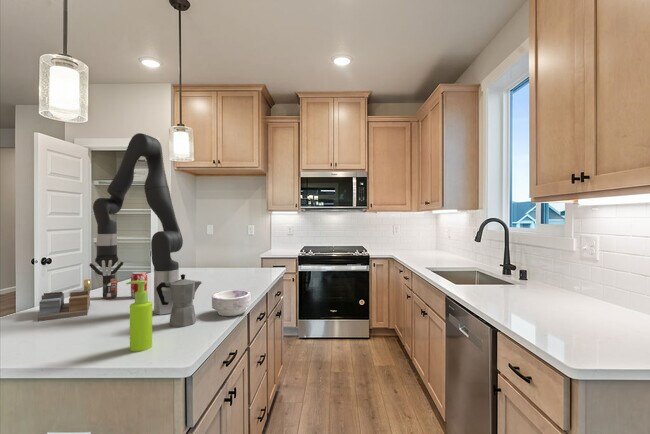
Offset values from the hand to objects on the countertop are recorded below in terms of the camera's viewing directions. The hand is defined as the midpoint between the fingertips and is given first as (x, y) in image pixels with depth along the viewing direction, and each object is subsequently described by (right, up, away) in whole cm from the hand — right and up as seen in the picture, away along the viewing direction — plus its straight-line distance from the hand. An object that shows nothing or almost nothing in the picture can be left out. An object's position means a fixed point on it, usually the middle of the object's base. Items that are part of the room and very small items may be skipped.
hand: (106, 284), depth 146 cm
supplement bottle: (-9, -10, +17) cm, 21 cm away
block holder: (-12, -10, -8) cm, 17 cm away
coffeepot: (+41, -10, -23) cm, 48 cm away
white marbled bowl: (+57, -10, -9) cm, 58 cm away
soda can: (+4, -10, +18) cm, 21 cm away
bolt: (-8, -3, -5) cm, 10 cm away
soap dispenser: (+39, -10, -45) cm, 61 cm away
